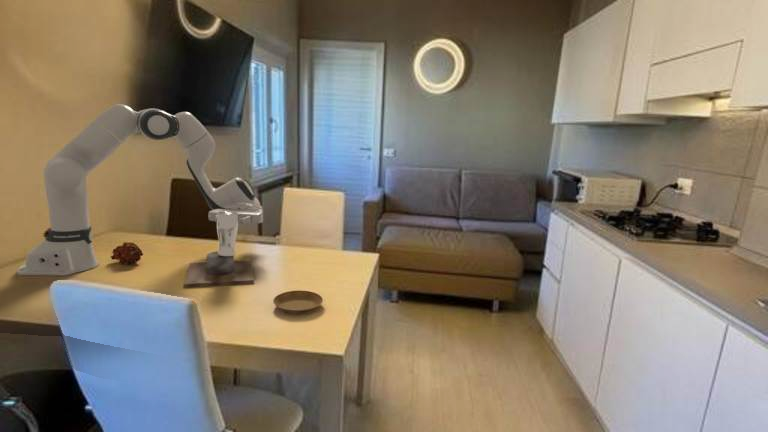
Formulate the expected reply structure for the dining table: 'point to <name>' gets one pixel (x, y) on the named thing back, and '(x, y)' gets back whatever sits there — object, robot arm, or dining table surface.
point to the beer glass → (227, 232)
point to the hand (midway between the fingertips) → (229, 220)
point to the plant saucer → (298, 302)
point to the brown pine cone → (127, 253)
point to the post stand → (219, 272)
